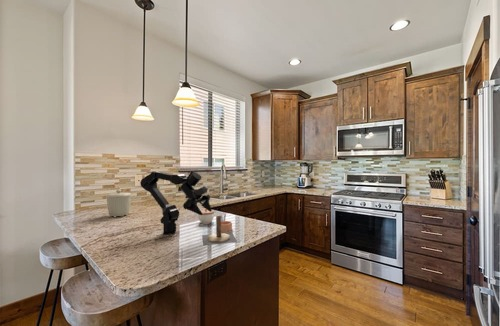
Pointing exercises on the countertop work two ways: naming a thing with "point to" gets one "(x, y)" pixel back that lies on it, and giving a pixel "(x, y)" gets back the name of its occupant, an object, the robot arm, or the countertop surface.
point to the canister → (118, 203)
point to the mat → (206, 242)
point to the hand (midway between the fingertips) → (206, 212)
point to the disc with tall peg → (218, 232)
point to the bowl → (226, 226)
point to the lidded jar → (206, 216)
